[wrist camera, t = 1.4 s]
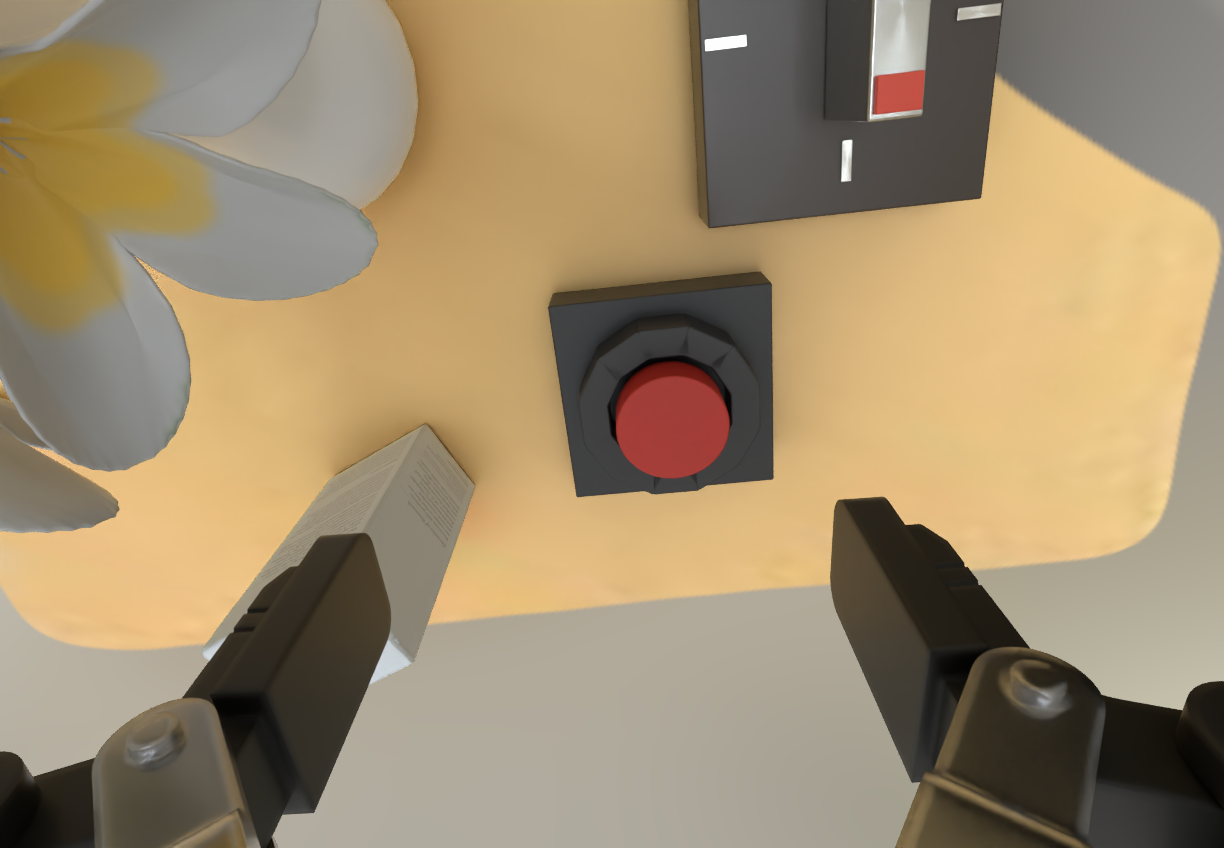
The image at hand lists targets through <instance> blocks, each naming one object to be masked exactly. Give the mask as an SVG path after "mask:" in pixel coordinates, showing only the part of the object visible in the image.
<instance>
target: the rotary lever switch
mask: <svg viewBox="0 0 1224 848" xmlns="http://www.w3.org/2000/svg"><path fill="white" fill-rule="evenodd" d="M688 5H689V24H690V43H691V63H692V82H693V101H694V120H695V139H696V158H697V177H698V197H699V216H700V218H701V219H702V220H703V221H704V223H705V224H706V225H707V226H708V228H717V227H726V226H735V225H744V224H753V223H762V222H772V221H781V220H790V219H799V218H808V217H817V216H826V215H836V214H845V213H854V212H863V211H872V210H881V209H890V208H900V207H909V206H918V205H927V204H936V203H945V202H954V201H963V200H973V199H979V198H981V194H982V185H983V176H984V167H985V159H986V150H987V141H988V132H989V123H990V115H991V106H992V97H993V88H994V79H995V70H996V62H997V53H998V44H999V35H1000V26H1001V18H1002V8H1003V0H931V11H930V24H929V37H928V50H927V64H926V77H925V90H924V103H923V114H922V115H921V116H920V117H912V118H903V119H894V120H886V121H877V122H850V121H827V120H826V119H825V95H826V48H827V0H688Z"/></svg>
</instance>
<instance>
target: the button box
mask: <svg viewBox="0 0 1224 848" xmlns="http://www.w3.org/2000/svg"><path fill="white" fill-rule="evenodd" d="M548 309H549V316H550V323H551V329H552V336H553V343H554V349H555V356H556V363H557V369H558V376H559V383H560V389H561V396H562V403H563V409H564V416H565V423H566V429H567V436H568V443H569V449H570V456H571V463H572V469H573V476H574V483H575V489H576V496H577V497H584V496H595V495H606V494H617V493H628V492H639V491H646V492H649V493H651V494H664V493H675V492H686V491H697V490H699V489H702V488H703V487H705V486H706V485H716V484H727V483H738V482H749V481H760V480H771V479H773V478H774V476H773V375H772V284H771V282H770V281H769V280H768V279H767V278H766V277H765V276H764V275H763V274H762V273H761V272H752V273H743V274H733V275H724V276H714V277H705V278H695V279H686V280H677V281H667V282H658V283H648V284H639V285H629V286H620V287H610V288H601V289H592V290H582V291H573V292H563V293H554V294H553V295H552V298H551V301H550V304H549V307H548ZM665 361H679V362H684V363H688V364H691V365H694V366H696V367H698V368H700V369H701V370H703V371H704V372H706V373H707V374H708V375H709V376H710V377H711V378H712V379H713V380H714V381H715V383H716V384H717V386H718V388H719V390H720V392H721V395H722V397H723V400H724V403H725V405H726V408H727V411H728V415H729V421H730V429H729V435H728V439H727V442H726V444H725V446H724V448H723V450H722V452H721V453H720V455H719V456H718V457H717V458H716V459H715V461H713V462H712V463H711V464H710V465H709V466H708V467H706V468H705V469H703V470H701V471H699V472H698V473H695V474H693V475H690V476H686V477H681V478H661V477H656V476H653V475H649V474H647V473H645V472H643V471H641V470H640V469H638V468H636V467H635V466H634V465H633V464H632V463H631V462H630V461H629V460H628V459H627V458H626V457H625V455H624V454H623V452H622V450H621V448H620V446H619V443H618V441H617V435H616V405H617V400H618V397H619V394H620V392H621V390H622V388H623V387H624V385H625V384H626V382H627V381H628V380H629V379H630V378H631V377H632V376H633V375H634V374H636V373H637V372H638V371H640V370H641V369H643V368H645V367H647V366H649V365H652V364H655V363H658V362H665Z"/></svg>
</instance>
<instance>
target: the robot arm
mask: <svg viewBox="0 0 1224 848" xmlns="http://www.w3.org/2000/svg"><path fill="white" fill-rule="evenodd" d="M830 581H831V591H832V597H833V602H834V606H835V609H836V612H837V614H838V617H839V619H840V621H841V623H842V626H843V628H844V630H845V632H846V635H847V637H848V639H849V642H850V644H851V646H852V648H853V651H854V653H855V655H856V657H857V660H858V662H859V664H860V666H861V669H862V671H863V673H864V676H865V678H866V680H867V682H868V685H869V687H870V689H871V691H872V693H873V696H874V698H875V700H876V703H877V705H878V707H879V709H880V712H881V714H882V716H883V719H884V721H885V723H886V725H887V728H888V730H889V732H890V734H891V737H892V739H893V741H894V744H895V746H896V748H897V750H898V753H899V755H900V757H901V759H902V761H903V764H904V766H905V768H906V771H907V773H908V775H909V777H910V779H911V782H912V783H913V782H920V784H919V787H918V790H917V792H916V795H915V797H914V800H913V802H912V805H911V808H910V810H909V813H908V816H907V818H906V821H905V823H904V826H903V828H902V831H901V834H900V836H899V839H898V841H897V844H896V847H895V848H1224V681H1219V682H1218V681H1217V682H1208V683H1204V684H1201V685H1199V686H1197V687H1195V688H1194V689H1193V690H1192V691H1191V692H1190V693H1189V695H1188V697H1187V700H1186V703H1185V705H1184V708H1183V711H1182V710H1177V709H1171V708H1165V707H1159V706H1154V705H1149V704H1142V703H1137V702H1132V701H1126V700H1120V699H1116V698H1112V697H1107V696H1104V695H1101V693H1100V691H1099V690H1098V688H1097V687H1096V686H1095V685H1094V683H1093V682H1092V681H1091V680H1090V679H1089V678H1088V677H1087V676H1086V675H1085V674H1083V673H1082V672H1081V671H1079V670H1078V669H1077V668H1075V667H1073V666H1072V665H1070V664H1068V663H1067V662H1065V661H1063V660H1061V659H1059V658H1057V657H1054V656H1052V655H1050V654H1047V653H1044V652H1041V651H1037V650H1033V649H1030V648H1029V646H1028V645H1027V644H1026V642H1025V641H1024V640H1023V638H1022V637H1021V636H1020V635H1019V633H1018V632H1017V631H1016V629H1015V628H1014V627H1013V625H1012V624H1011V623H1010V622H1009V620H1008V619H1007V618H1006V617H1005V615H1004V614H1003V612H1002V611H1001V610H1000V609H999V607H998V606H997V605H996V603H995V602H994V601H993V599H992V598H991V597H990V596H989V594H988V593H987V592H986V591H985V589H984V588H983V587H982V585H978V580H977V579H976V577H975V576H974V575H973V574H972V572H971V571H970V570H969V568H968V567H965V566H964V562H963V561H962V559H961V558H960V557H959V555H958V554H957V553H956V551H955V550H954V549H953V548H952V546H951V545H950V544H949V542H948V541H946V540H945V539H943V538H942V537H940V536H939V535H937V534H935V533H934V532H932V531H931V530H929V529H928V528H926V527H925V526H923V525H921V524H915V525H905V524H904V523H903V521H902V520H901V518H900V517H899V515H898V514H897V513H896V511H895V510H894V508H893V507H892V505H891V504H890V503H889V501H888V500H887V499H886V498H885V497H872V498H858V499H844V500H838V501H837V503H836V505H835V509H834V522H833V539H832V556H831V572H830ZM247 611H248V612H247V614H244V615H243V616H242V617H241V619H240V620H239V621H238V623H237V624H236V625H235V627H234V632H233V633H230V634H229V635H228V636H227V638H226V639H225V640H224V642H223V643H222V645H221V646H220V647H219V649H218V650H217V651H216V653H215V654H214V655H213V657H212V658H211V659H210V661H209V662H208V664H207V665H206V666H205V668H204V669H203V670H202V672H201V673H200V675H199V676H198V678H197V679H196V680H195V681H194V683H193V684H192V685H191V687H190V688H189V690H188V691H187V692H186V694H185V695H184V696H183V698H182V699H177V700H172V701H169V702H166V703H163V704H160V705H158V706H155V707H153V708H151V709H149V710H147V711H145V712H143V713H141V714H139V715H138V716H136V717H135V718H133V719H131V720H130V721H129V722H127V723H126V724H125V725H123V726H122V727H121V728H119V730H117V731H116V732H115V733H114V734H113V735H112V736H111V737H110V738H109V739H108V740H107V741H106V742H105V744H104V745H103V746H102V747H101V749H100V750H99V752H98V754H97V755H96V757H95V758H93V759H90V760H87V761H84V762H80V763H77V764H74V765H71V766H67V767H64V768H60V769H57V770H54V771H51V772H48V773H44V774H41V775H37V776H34V777H33V776H32V775H31V773H30V772H29V770H28V769H27V767H26V765H25V764H24V762H23V761H22V759H21V758H20V757H19V756H18V755H16V754H14V753H11V752H0V848H278V846H277V843H276V841H275V839H274V837H273V833H274V831H275V829H276V827H277V825H278V823H279V820H280V818H281V816H282V815H284V814H302V813H314V812H315V809H316V807H317V805H318V802H319V800H320V797H321V795H322V793H323V791H324V788H325V786H326V784H327V781H328V779H329V777H330V774H331V772H332V770H333V767H334V765H335V763H336V760H337V758H338V755H339V753H340V751H341V748H342V746H343V744H344V741H345V739H346V737H347V734H348V732H349V730H350V727H351V725H352V723H353V720H354V718H355V716H356V713H357V711H358V709H359V706H360V703H361V702H362V699H363V697H364V695H365V692H366V690H367V688H368V685H369V683H370V681H371V678H372V676H373V674H374V671H375V669H376V667H377V664H378V662H379V660H380V657H381V655H382V653H383V650H384V648H385V646H386V643H387V641H388V638H389V634H390V628H391V608H390V602H389V598H388V595H387V591H386V588H385V584H384V581H383V577H382V574H381V570H380V566H379V563H378V559H377V556H376V552H375V549H374V545H373V542H372V540H371V538H370V536H369V535H368V534H366V533H351V534H337V535H323V536H320V537H319V538H318V539H317V540H316V541H315V542H314V544H313V545H312V547H311V548H310V550H309V551H308V553H307V554H306V555H305V557H304V558H303V560H302V561H301V563H300V564H299V566H293V567H289V568H288V569H286V570H285V571H284V572H282V573H281V574H280V575H279V576H277V577H276V578H275V579H273V580H272V581H271V582H270V583H268V584H267V585H266V586H264V587H263V589H262V590H261V591H260V593H259V594H258V595H257V597H256V598H255V600H254V601H253V602H252V604H251V605H250V606H249V608H248V609H247Z"/></svg>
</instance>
